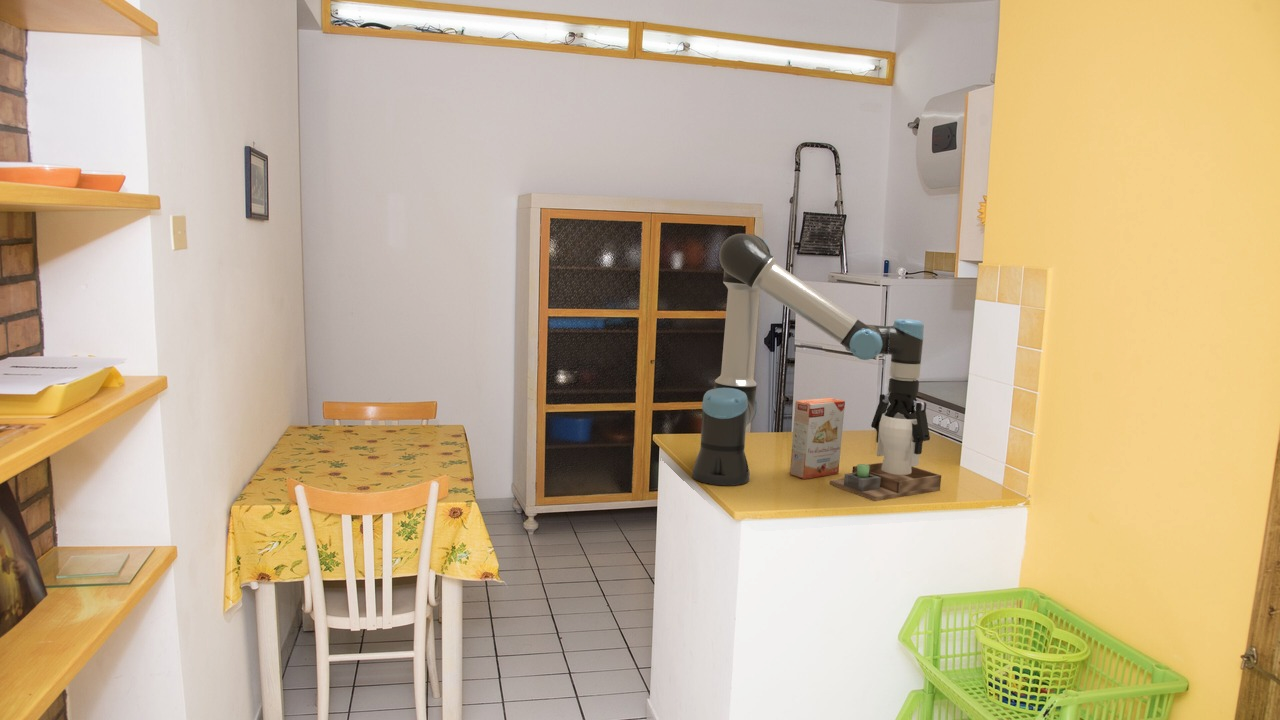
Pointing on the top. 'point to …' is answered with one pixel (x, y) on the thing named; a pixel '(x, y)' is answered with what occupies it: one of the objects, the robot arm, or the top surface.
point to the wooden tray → (888, 483)
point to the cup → (896, 443)
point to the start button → (863, 470)
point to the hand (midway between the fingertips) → (897, 460)
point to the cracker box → (817, 437)
